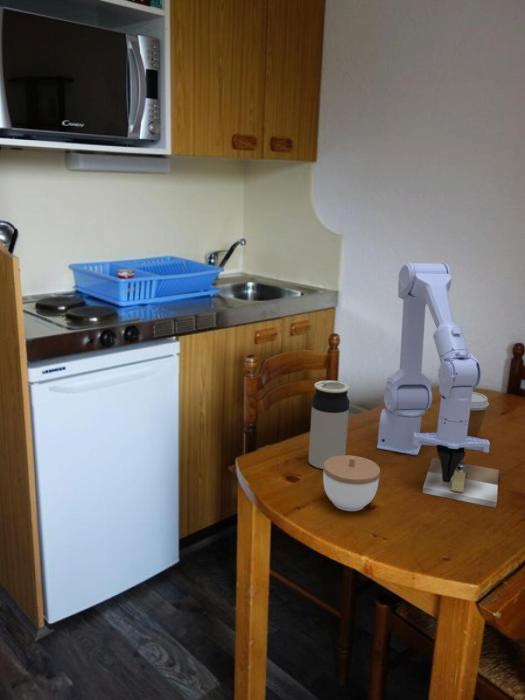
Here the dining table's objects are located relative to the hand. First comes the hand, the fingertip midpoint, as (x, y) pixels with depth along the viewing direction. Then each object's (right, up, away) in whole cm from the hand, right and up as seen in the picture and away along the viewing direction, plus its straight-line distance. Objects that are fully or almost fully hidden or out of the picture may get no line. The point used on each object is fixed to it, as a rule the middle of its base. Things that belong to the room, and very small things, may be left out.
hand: (446, 480), depth 126 cm
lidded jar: (-21, -3, -7) cm, 22 cm away
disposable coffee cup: (+12, +4, +26) cm, 29 cm away
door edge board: (+4, -1, +4) cm, 6 cm away
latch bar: (+3, 0, +1) cm, 3 cm away
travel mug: (-23, +1, +11) cm, 26 cm away
